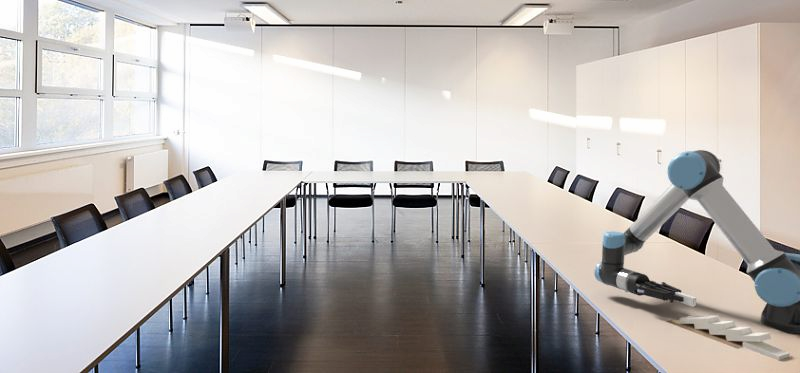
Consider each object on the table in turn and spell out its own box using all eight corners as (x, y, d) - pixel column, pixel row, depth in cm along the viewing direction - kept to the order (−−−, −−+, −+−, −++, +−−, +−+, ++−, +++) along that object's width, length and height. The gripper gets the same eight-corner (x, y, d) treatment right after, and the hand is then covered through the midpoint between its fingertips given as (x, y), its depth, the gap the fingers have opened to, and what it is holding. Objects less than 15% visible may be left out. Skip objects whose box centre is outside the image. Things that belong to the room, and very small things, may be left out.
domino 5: (742, 341, 166) (778, 356, 158) (753, 338, 169) (789, 353, 160) (742, 346, 167) (777, 362, 158) (753, 343, 169) (788, 358, 160)
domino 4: (725, 335, 171) (758, 335, 162) (736, 332, 173) (769, 332, 164) (726, 340, 171) (760, 341, 162) (737, 337, 173) (771, 338, 164)
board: (686, 318, 191) (686, 316, 191) (759, 344, 170) (759, 342, 170) (665, 323, 187) (665, 321, 187) (737, 350, 165) (737, 348, 165)
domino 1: (679, 318, 185) (707, 318, 176) (689, 316, 187) (718, 315, 178) (680, 323, 184) (708, 323, 176) (691, 321, 187) (719, 321, 178)
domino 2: (693, 323, 180) (723, 323, 171) (704, 321, 182) (734, 321, 174) (695, 329, 180) (724, 329, 171) (705, 326, 182) (735, 326, 173)
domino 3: (708, 329, 176) (740, 329, 167) (719, 326, 178) (750, 327, 169) (709, 334, 176) (741, 335, 167) (720, 331, 178) (752, 332, 169)
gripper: (646, 290, 207) (707, 310, 186) (619, 295, 201) (679, 317, 180) (647, 269, 206) (709, 287, 185) (620, 274, 200) (681, 293, 179)
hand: (694, 302), depth 182 cm, fingers closed
